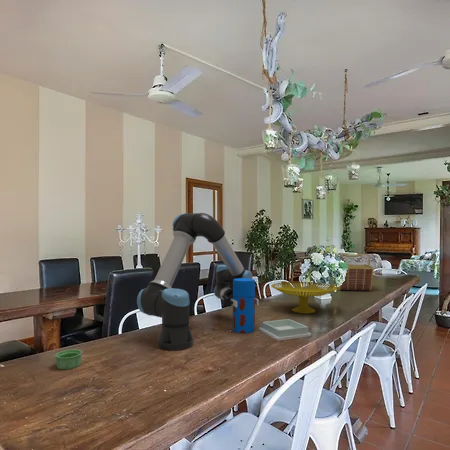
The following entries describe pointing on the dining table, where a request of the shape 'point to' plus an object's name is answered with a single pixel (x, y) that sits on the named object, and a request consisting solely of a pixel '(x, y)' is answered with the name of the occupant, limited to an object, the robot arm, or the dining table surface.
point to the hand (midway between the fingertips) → (247, 303)
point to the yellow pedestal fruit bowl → (304, 293)
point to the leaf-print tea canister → (244, 305)
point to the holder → (284, 329)
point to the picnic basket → (358, 276)
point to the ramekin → (68, 359)
